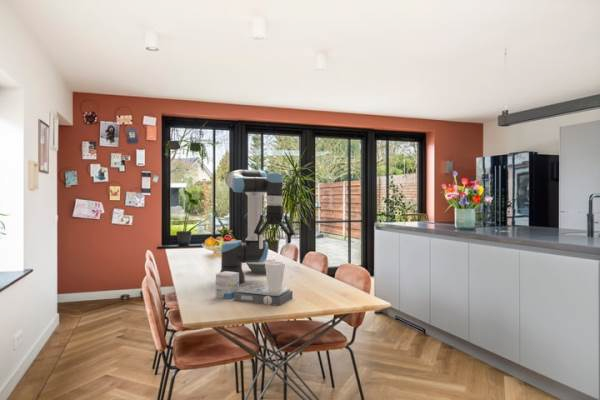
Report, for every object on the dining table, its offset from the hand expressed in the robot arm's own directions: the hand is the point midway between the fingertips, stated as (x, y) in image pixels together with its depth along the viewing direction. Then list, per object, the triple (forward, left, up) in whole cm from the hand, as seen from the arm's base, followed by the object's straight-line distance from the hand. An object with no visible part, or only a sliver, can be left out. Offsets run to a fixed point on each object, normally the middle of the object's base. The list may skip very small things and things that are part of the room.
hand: (274, 249), depth 199 cm
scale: (-5, 0, -24) cm, 25 cm away
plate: (-5, 0, -20) cm, 21 cm away
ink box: (-24, -2, -25) cm, 35 cm away
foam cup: (+1, 0, -20) cm, 20 cm away
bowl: (-38, +60, -25) cm, 75 cm away
